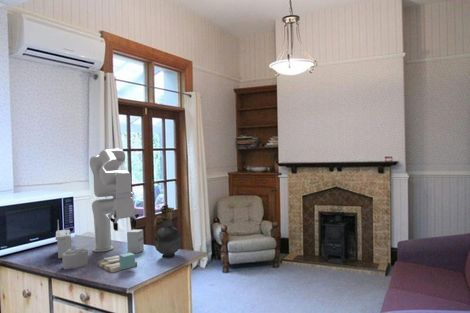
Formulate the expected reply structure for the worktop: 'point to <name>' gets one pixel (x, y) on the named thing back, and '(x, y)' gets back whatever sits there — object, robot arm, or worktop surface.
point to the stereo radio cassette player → (63, 241)
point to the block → (127, 260)
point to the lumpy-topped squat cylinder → (75, 258)
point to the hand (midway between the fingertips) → (125, 228)
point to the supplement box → (135, 241)
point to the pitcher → (167, 234)
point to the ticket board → (112, 264)
